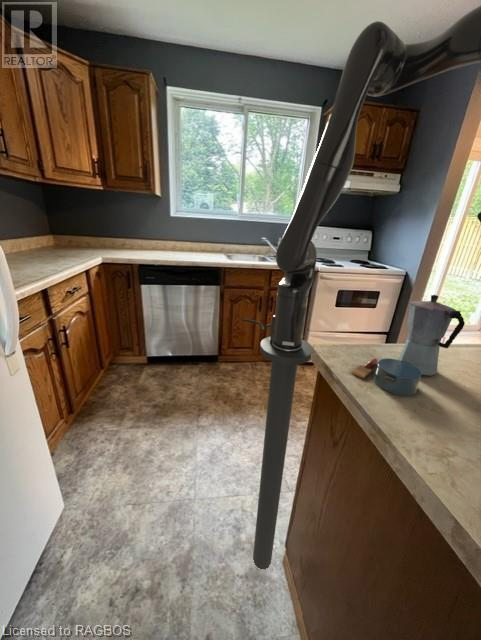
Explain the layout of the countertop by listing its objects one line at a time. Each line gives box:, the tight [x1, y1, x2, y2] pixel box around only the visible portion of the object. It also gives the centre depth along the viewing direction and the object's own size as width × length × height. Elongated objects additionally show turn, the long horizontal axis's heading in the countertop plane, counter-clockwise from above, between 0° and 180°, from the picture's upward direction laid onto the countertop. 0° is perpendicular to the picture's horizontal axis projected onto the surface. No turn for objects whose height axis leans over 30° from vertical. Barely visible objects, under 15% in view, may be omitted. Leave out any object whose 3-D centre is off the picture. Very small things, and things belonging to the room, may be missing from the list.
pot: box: [373, 358, 422, 397], centre depth 64 cm, size 9×12×4 cm
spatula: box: [351, 357, 379, 379], centre depth 71 cm, size 11×3×1 cm, turn 133°
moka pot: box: [397, 294, 466, 377], centre depth 69 cm, size 10×15×20 cm, turn 15°
